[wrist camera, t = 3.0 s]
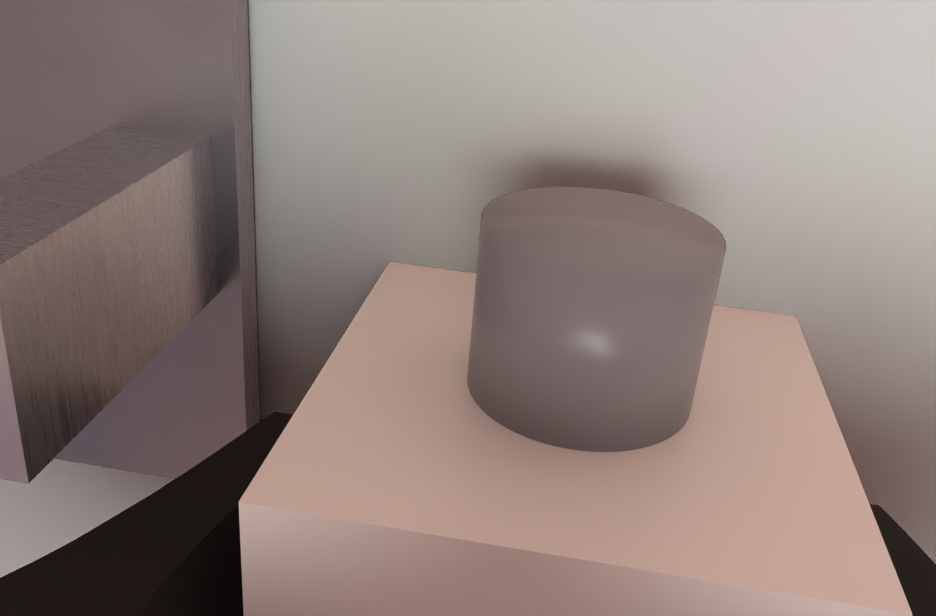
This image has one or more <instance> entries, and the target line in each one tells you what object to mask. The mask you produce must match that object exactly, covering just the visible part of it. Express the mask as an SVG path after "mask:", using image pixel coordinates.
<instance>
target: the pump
mask: <svg viewBox="0 0 936 616" xmlns="http://www.w3.org/2000/svg"><path fill="white" fill-rule="evenodd" d="M725 250H726V241H725V239H724V237H723V235H722V234H721V233H720V231H719V230H718V229H717V228H716V227H715V226H713V225H712V224H711V223H709V222H708V221H706V220H705V219H703V218H702V217H700V216H698V215H696V214H694V213H692V212H690V211H688V210H686V209H683V208H681V207H678V206H675V205H673V204H670V203H667V202H664V201H661V200H657V199H653V198H650V197H646V196H641V195H637V194H632V193H627V192H621V191H615V190H608V189H599V188H588V187H542V188H532V189H525V190H520V191H515V192H512V193H508V194H505V195H503V196H500V197H498V198H496V199H494V200H493V201H491V202H490V203H488V204H487V205H486V206H485V208H484V209H483V211H482V215H481V224H480V236H479V247H478V259H477V270H476V273H469V272H462V271H454V270H447V269H440V268H432V267H425V266H417V265H410V264H402V263H395V262H389V263H388V265H387V266H386V268H385V270H384V271H383V273H382V274H381V276H380V278H379V279H378V281H377V282H376V284H375V285H374V287H373V289H372V290H371V292H370V293H369V295H368V297H367V298H366V300H365V301H364V303H363V305H362V306H361V308H360V309H359V311H358V313H357V314H356V316H355V317H354V319H353V320H352V322H351V324H350V325H349V327H348V328H347V330H346V332H345V333H344V335H343V336H342V338H341V340H340V341H339V343H338V344H337V346H336V348H335V349H334V351H333V352H332V354H331V356H330V357H329V359H328V360H327V362H326V363H325V365H324V367H323V368H322V370H321V371H320V373H319V375H318V376H317V378H316V379H315V381H314V383H313V384H312V386H311V387H310V389H309V391H308V392H307V394H306V395H305V397H304V398H303V400H302V402H301V403H300V405H299V406H298V408H297V410H296V411H295V413H294V414H293V416H292V418H291V419H290V421H289V422H288V424H287V426H286V427H285V429H284V430H283V432H282V434H281V435H280V437H279V438H278V440H277V441H276V443H275V445H274V446H273V448H272V449H271V451H270V453H269V454H268V456H267V457H266V459H265V461H264V462H263V464H262V465H261V467H260V469H259V470H258V472H257V473H256V475H255V477H254V478H253V480H252V481H251V483H250V484H249V486H248V488H247V489H246V491H245V492H244V494H243V496H242V497H241V499H240V500H239V502H238V503H239V525H240V547H241V569H242V591H243V613H244V616H912V615H913V614H912V612H911V609H910V607H909V604H908V602H907V599H906V596H905V594H904V591H903V589H902V586H901V584H900V581H899V579H898V576H897V573H896V571H895V568H894V566H893V563H892V561H891V558H890V556H889V553H888V550H887V548H886V545H885V543H884V540H883V538H882V535H881V533H880V530H879V527H878V525H877V522H876V520H875V517H874V515H873V512H872V509H871V507H870V504H869V502H868V499H867V497H866V494H865V492H864V489H863V486H862V484H861V481H860V479H859V476H858V474H857V471H856V469H855V466H854V463H853V461H852V458H851V456H850V453H849V451H848V448H847V446H846V443H845V440H844V438H843V435H842V433H841V430H840V428H839V425H838V423H837V420H836V417H835V415H834V412H833V410H832V407H831V405H830V402H829V400H828V397H827V394H826V392H825V389H824V387H823V384H822V382H821V379H820V377H819V374H818V371H817V369H816V366H815V364H814V361H813V359H812V356H811V354H810V351H809V348H808V346H807V343H806V341H805V338H804V336H803V333H802V330H801V328H800V325H799V323H798V320H797V318H796V316H791V315H783V314H776V313H768V312H761V311H753V310H746V309H739V308H731V307H724V306H716V305H714V301H715V296H716V292H717V287H718V282H719V278H720V273H721V269H722V264H723V259H724V255H725Z"/></svg>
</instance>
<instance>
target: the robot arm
mask: <svg viewBox="0 0 936 616" xmlns="http://www.w3.org/2000/svg"><path fill="white" fill-rule="evenodd" d="M292 416H293V415H291V414H285V413H278V412H274V413H273V414H271V415H270V416H268V417H266V418H265V419H263V420H262V421H260V422H259V423H257V424H256V425H254V426H253V427H251V428H250V429H248V430H247V431H245V432H244V433H243V434H241V435H240V436H238V437H237V438H235V439H234V440H232V441H231V442H229V443H228V444H227V445H225V446H224V447H222V448H221V449H219V450H218V451H216V452H215V453H213V454H212V455H211V456H209V457H208V458H206V459H205V460H203V461H202V462H200V463H199V464H197V465H196V466H194V467H193V468H191V469H190V470H188V471H186V472H185V473H183V474H182V475H180V476H179V477H177V478H176V479H174V480H173V481H171V482H170V483H168V484H167V485H165V486H164V487H162V488H161V489H159V490H158V491H156V492H155V493H153V494H151V495H150V496H148V497H146V498H145V499H143V500H141V501H140V502H138V503H136V504H135V505H133V506H131V507H130V508H128V509H126V510H125V511H123V512H121V513H120V514H118V515H116V516H114V517H113V518H111V519H109V520H108V521H106V522H104V523H103V524H101V525H99V526H98V527H96V528H94V529H93V530H91V531H89V532H88V533H86V534H84V535H82V536H81V537H79V538H77V539H76V540H74V541H72V542H70V543H68V544H66V545H65V546H63V547H61V548H59V549H57V550H55V551H53V552H51V553H49V554H48V555H46V556H44V557H42V558H40V559H38V560H36V561H34V562H32V563H30V564H28V565H26V566H24V567H22V568H20V569H18V570H16V571H14V572H12V573H9V574H7V575H5V576H3V577H1V578H0V616H244V613H243V591H242V569H241V547H240V525H239V503H238V502H239V500H240V499H241V497H242V496H243V494H244V492H245V491H246V489H247V488H248V486H249V484H250V483H251V481H252V480H253V478H254V477H255V475H256V473H257V472H258V470H259V469H260V467H261V465H262V464H263V462H264V461H265V459H266V457H267V456H268V454H269V453H270V451H271V449H272V448H273V446H274V445H275V443H276V441H277V440H278V438H279V437H280V435H281V434H282V432H283V430H284V429H285V427H286V426H287V424H288V422H289V421H290V419H291V418H292ZM870 507H871V509H872V512H873V515H874V517H875V520H876V522H877V525H878V527H879V530H880V533H881V535H882V538H883V540H884V543H885V545H886V548H887V550H888V553H889V556H890V558H891V561H892V563H893V566H894V568H895V571H896V573H897V576H898V579H899V581H900V584H901V586H902V589H903V591H904V594H905V596H906V599H907V602H908V604H909V607H910V609H911V612H912V614H913V615H912V616H936V564H935V563H934V562H933V561H932V560H931V559H930V558H929V557H928V556H927V555H926V554H925V553H924V552H923V550H922V549H921V548H920V547H919V546H918V545H917V544H916V543H915V542H914V541H913V540H912V539H911V538H910V537H909V536H908V535H907V533H906V532H905V531H904V530H903V529H902V528H901V527H900V526H899V525H898V524H897V523H896V522H895V521H894V520H893V519H892V518H891V517H890V516H889V515H888V514H887V513H886V512H885V511H884V510H883V509H882V508H881V507H880V506H879V505H872V504H870Z"/></svg>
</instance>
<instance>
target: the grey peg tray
mask: <svg viewBox="0 0 936 616" xmlns="http://www.w3.org/2000/svg"><path fill="white" fill-rule="evenodd" d="M259 422H260V401H259V368H258V335H257V302H256V269H255V235H254V202H253V169H252V136H251V102H250V69H249V36H248V3H247V0H0V479H6V480H12V481H18V482H24V483H29V482H30V481H31V480H32V479H33V478H34V477H35V476H36V475H37V474H38V473H39V472H40V471H41V470H42V469H43V468H44V467H45V466H46V465H47V464H48V463H49V462H50V461H51V460H52V459H53V458H55V459H61V460H67V461H73V462H79V463H85V464H91V465H97V466H103V467H109V468H115V469H121V470H127V471H133V472H139V473H145V474H151V475H157V476H164V477H170V478H177V477H179V476H180V475H182V474H183V473H185V472H186V471H188V470H190V469H191V468H193V467H194V466H196V465H197V464H199V463H200V462H202V461H203V460H205V459H206V458H208V457H209V456H211V455H212V454H213V453H215V452H216V451H218V450H219V449H221V448H222V447H224V446H225V445H227V444H228V443H229V442H231V441H232V440H234V439H235V438H237V437H238V436H240V435H241V434H243V433H244V432H245V431H247V430H248V429H250V428H251V427H253V426H254V425H256V424H257V423H259Z"/></svg>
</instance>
